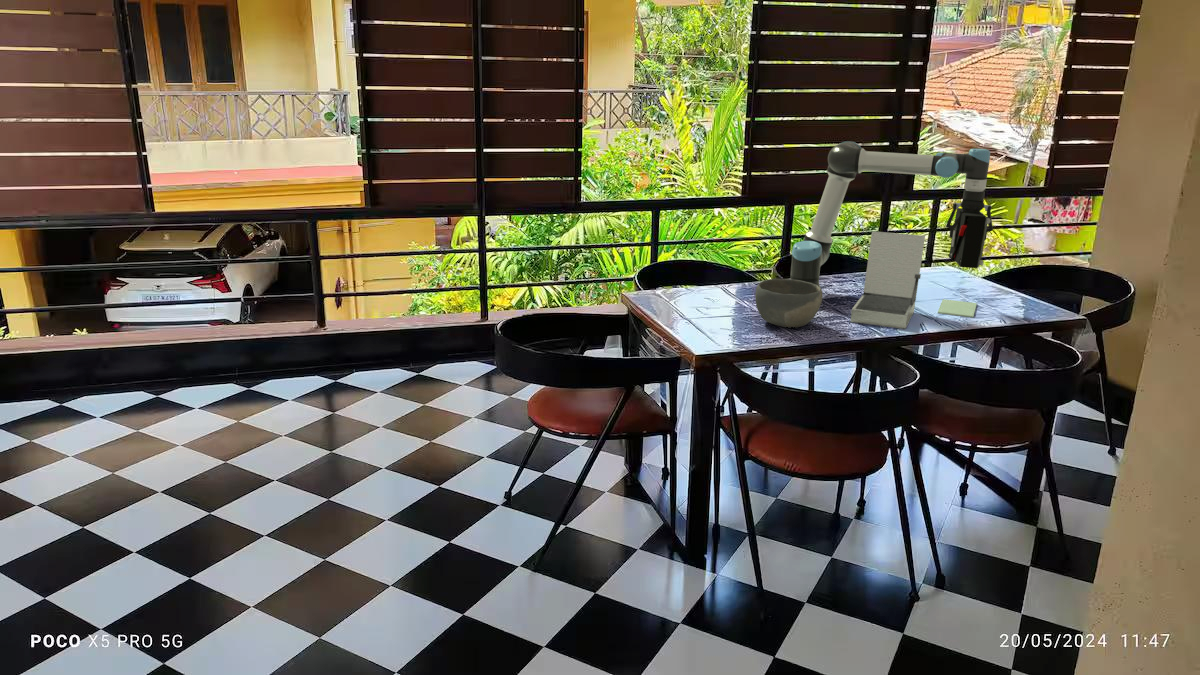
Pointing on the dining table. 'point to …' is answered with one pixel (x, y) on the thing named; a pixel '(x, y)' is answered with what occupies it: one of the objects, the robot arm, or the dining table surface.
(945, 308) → the mat
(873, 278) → the case
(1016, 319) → the dining table surface
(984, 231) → the electrical component
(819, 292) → the bowl
